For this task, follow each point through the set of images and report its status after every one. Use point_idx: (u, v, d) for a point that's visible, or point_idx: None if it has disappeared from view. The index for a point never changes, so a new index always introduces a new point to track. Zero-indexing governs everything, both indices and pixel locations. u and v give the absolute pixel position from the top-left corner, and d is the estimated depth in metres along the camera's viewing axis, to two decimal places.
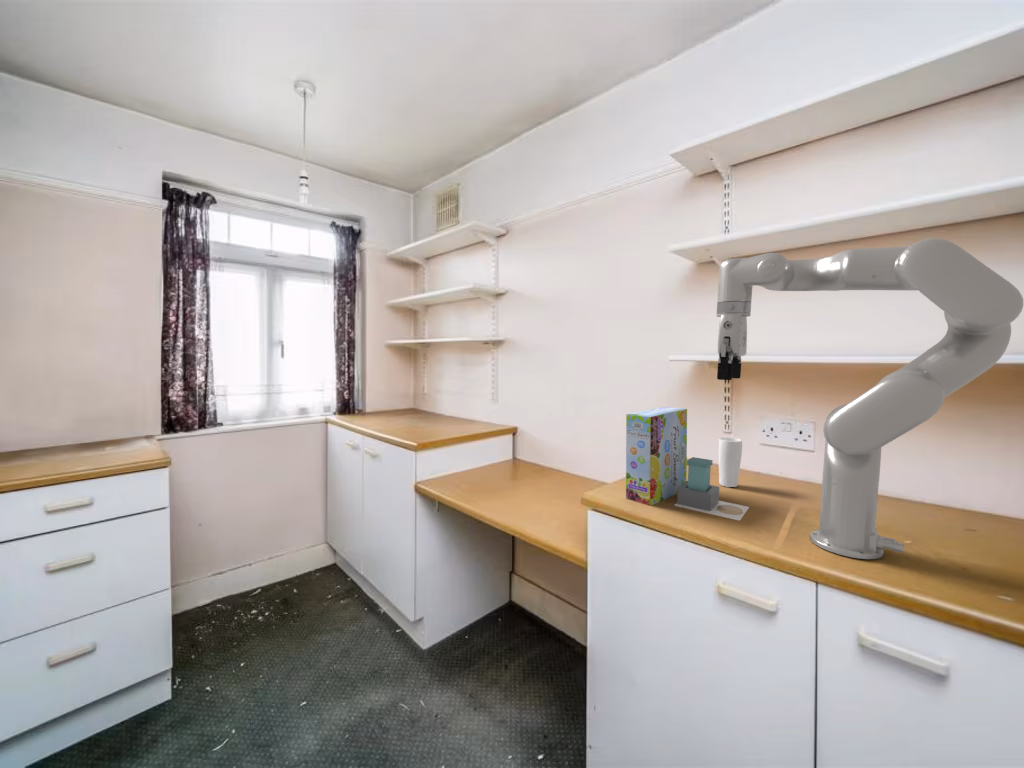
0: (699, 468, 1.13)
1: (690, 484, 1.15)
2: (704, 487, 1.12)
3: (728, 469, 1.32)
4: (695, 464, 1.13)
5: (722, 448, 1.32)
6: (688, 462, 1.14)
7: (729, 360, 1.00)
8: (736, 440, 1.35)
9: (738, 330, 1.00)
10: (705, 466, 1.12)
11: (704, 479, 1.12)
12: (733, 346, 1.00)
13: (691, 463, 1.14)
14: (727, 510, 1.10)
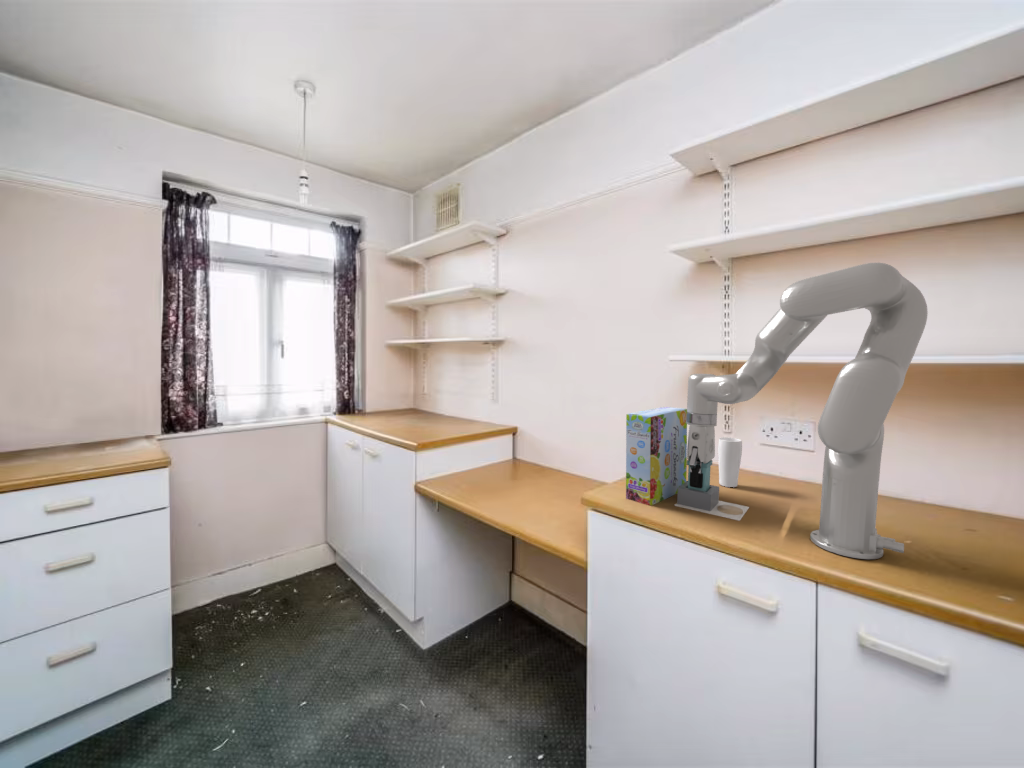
0: None
1: None
2: (704, 487, 1.12)
3: (728, 469, 1.32)
4: None
5: (722, 448, 1.32)
6: (688, 462, 1.14)
7: (699, 472, 1.11)
8: (736, 440, 1.35)
9: (704, 441, 1.09)
10: (705, 466, 1.12)
11: (704, 479, 1.12)
12: (700, 456, 1.10)
13: None
14: (727, 510, 1.10)
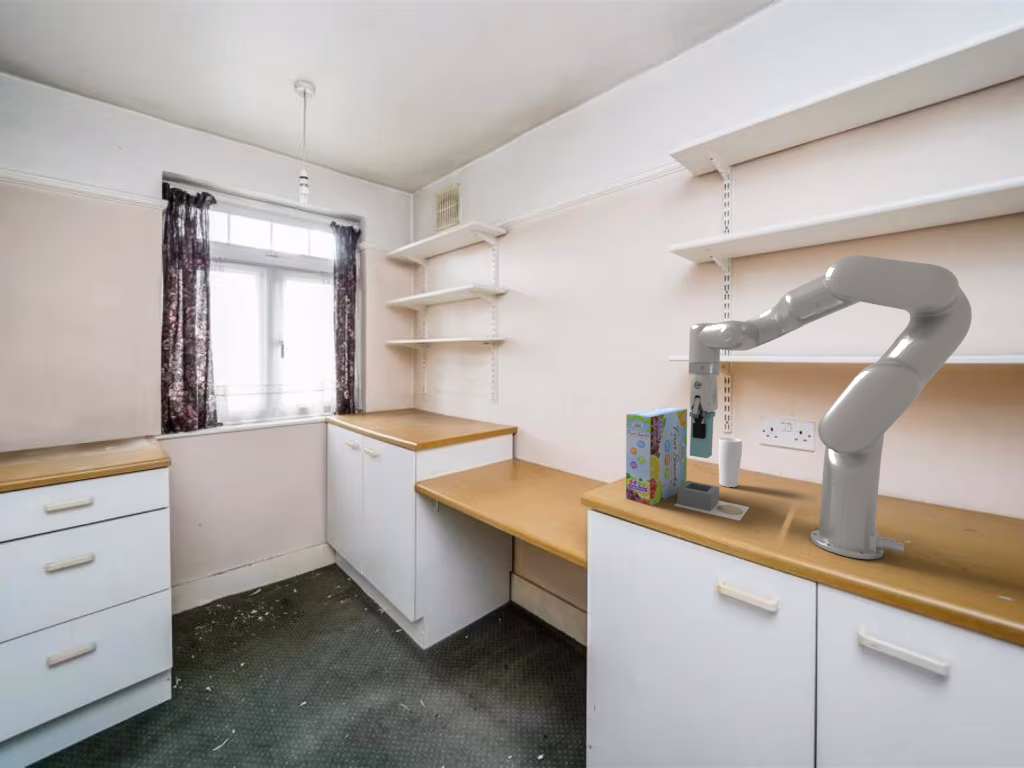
0: None
1: None
2: (707, 438, 1.11)
3: (728, 469, 1.32)
4: None
5: (722, 448, 1.32)
6: (691, 413, 1.13)
7: (702, 422, 1.10)
8: (736, 440, 1.35)
9: (707, 390, 1.08)
10: (708, 416, 1.10)
11: (707, 429, 1.11)
12: (703, 405, 1.09)
13: None
14: (727, 510, 1.10)
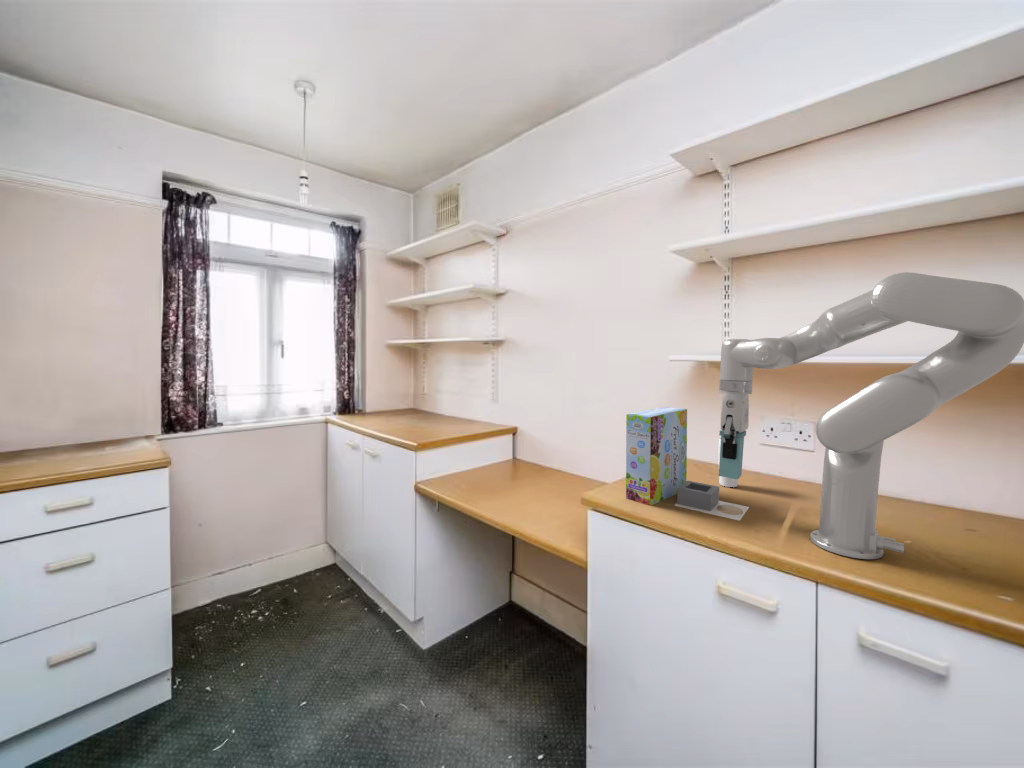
0: None
1: None
2: (738, 458, 1.07)
3: None
4: None
5: None
6: (721, 432, 1.09)
7: (733, 442, 1.06)
8: None
9: (740, 409, 1.04)
10: (740, 436, 1.06)
11: (738, 450, 1.07)
12: (735, 424, 1.04)
13: None
14: (727, 510, 1.10)
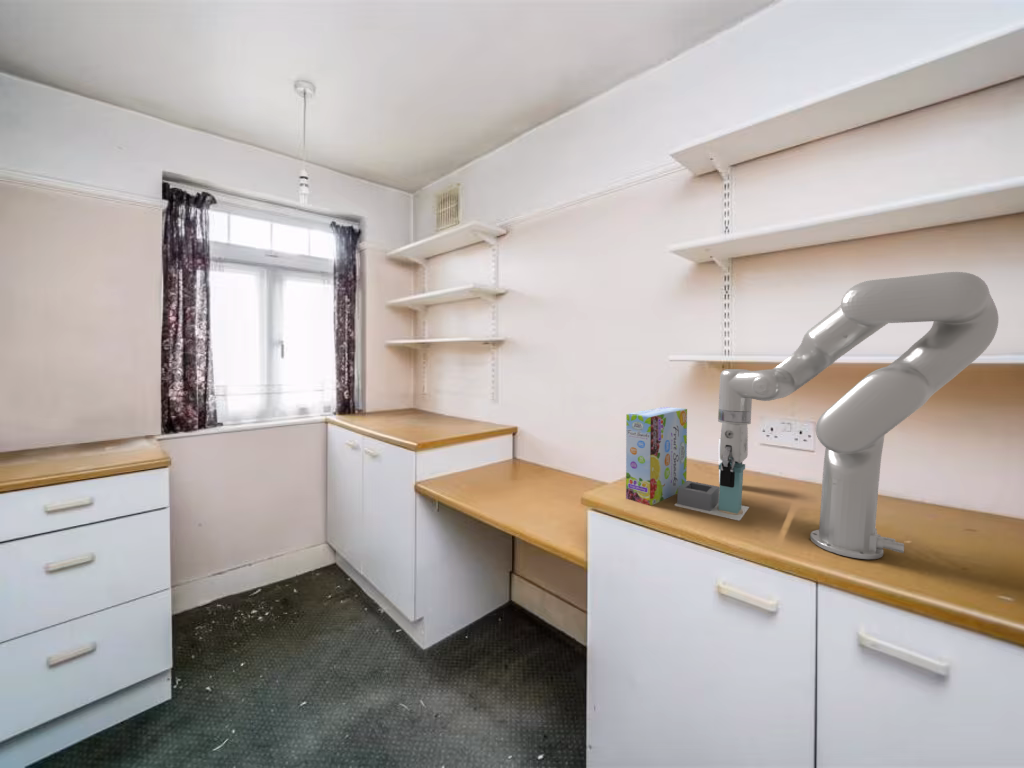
0: None
1: (722, 489, 1.10)
2: (737, 492, 1.07)
3: None
4: None
5: None
6: (720, 466, 1.09)
7: (731, 469, 1.05)
8: None
9: (739, 440, 1.04)
10: (738, 470, 1.07)
11: (737, 484, 1.07)
12: (734, 455, 1.05)
13: None
14: None
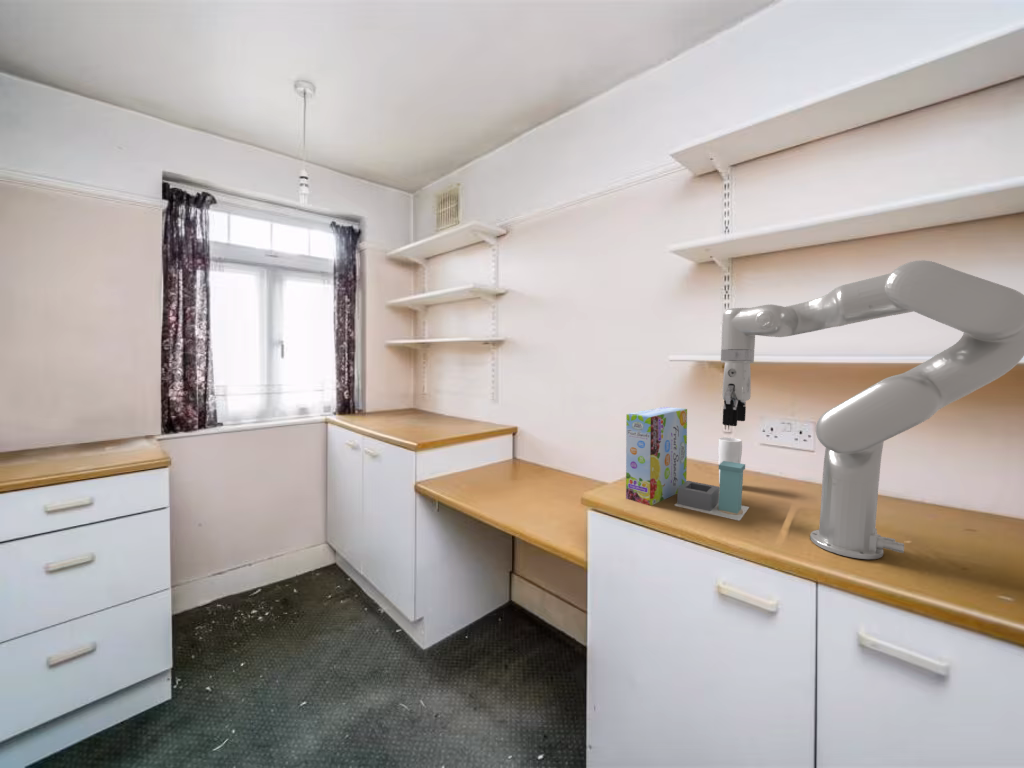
0: (732, 473, 1.08)
1: (722, 489, 1.10)
2: (737, 492, 1.07)
3: None
4: (728, 468, 1.08)
5: (722, 448, 1.32)
6: (720, 466, 1.09)
7: (734, 407, 1.03)
8: (736, 440, 1.35)
9: (742, 378, 1.03)
10: (738, 470, 1.06)
11: (737, 484, 1.07)
12: (737, 393, 1.03)
13: (723, 467, 1.09)
14: None
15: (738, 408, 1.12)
